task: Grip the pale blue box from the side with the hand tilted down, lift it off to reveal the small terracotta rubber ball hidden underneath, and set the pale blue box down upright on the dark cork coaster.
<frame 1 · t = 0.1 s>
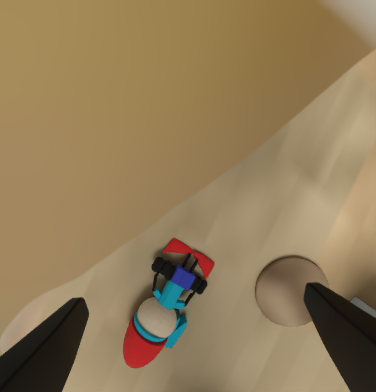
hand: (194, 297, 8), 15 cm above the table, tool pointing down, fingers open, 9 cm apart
pale blue box: (359, 321, 24), on the table
toy figure: (166, 294, 25), on the table
coaster: (290, 290, 24), on the table
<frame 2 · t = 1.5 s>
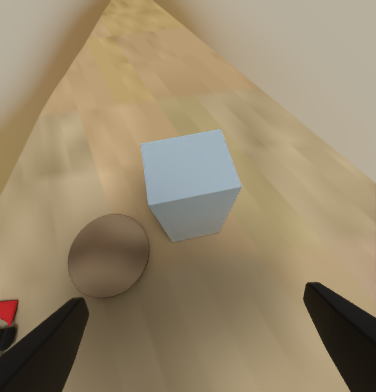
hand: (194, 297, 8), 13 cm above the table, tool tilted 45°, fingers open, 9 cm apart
pale blue box: (191, 219, 23), on the table
coaster: (110, 253, 22), on the table
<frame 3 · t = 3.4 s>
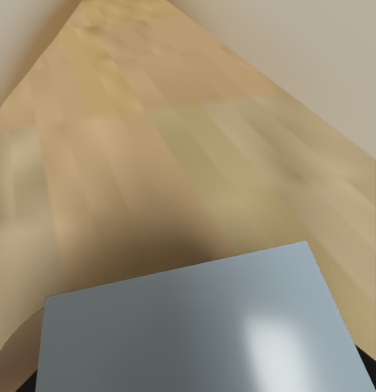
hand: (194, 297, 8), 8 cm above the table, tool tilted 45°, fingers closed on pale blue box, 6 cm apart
pale blue box: (197, 310, 14), on the table, touching gripper
coaster: (59, 377, 13), on the table
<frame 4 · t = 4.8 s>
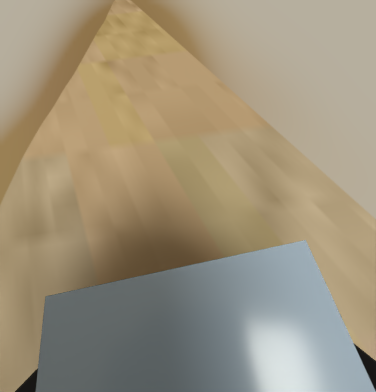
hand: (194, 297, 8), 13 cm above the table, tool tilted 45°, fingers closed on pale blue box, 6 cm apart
pale blue box: (197, 310, 14), point 6 cm above the table, touching gripper
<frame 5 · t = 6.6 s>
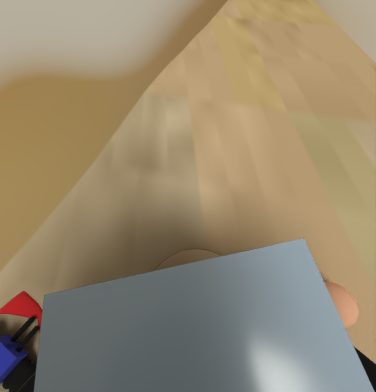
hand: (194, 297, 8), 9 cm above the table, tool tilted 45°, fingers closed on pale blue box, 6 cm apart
ball: (319, 301, 15), on the table
pale blue box: (196, 309, 14), point 2 cm above the table, touching gripper
coaster: (196, 305, 16), on the table
when the fingers open (9 cm above the table, at t = 6.9 s): pale blue box drops 1 cm, resting on coaster.
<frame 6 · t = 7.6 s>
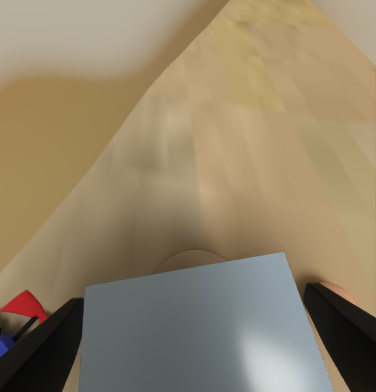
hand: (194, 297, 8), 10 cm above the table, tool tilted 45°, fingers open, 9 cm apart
ball: (319, 302, 16), on the table
pale blue box: (197, 306, 15), point 1 cm above the table, touching coaster
coaster: (196, 305, 16), on the table
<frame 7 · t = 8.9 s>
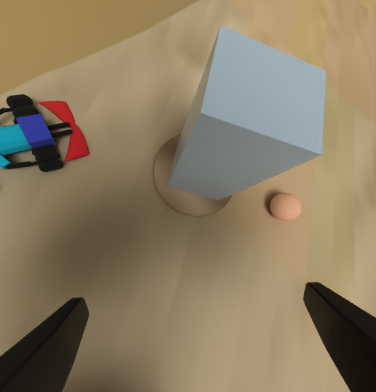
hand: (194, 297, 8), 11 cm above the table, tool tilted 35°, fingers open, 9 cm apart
ball: (275, 208, 22), on the table
pale blue box: (197, 173, 20), point 1 cm above the table, touching coaster
coaster: (195, 174, 20), on the table
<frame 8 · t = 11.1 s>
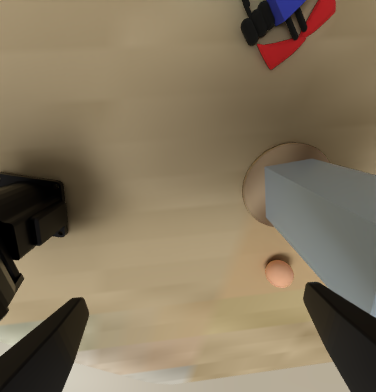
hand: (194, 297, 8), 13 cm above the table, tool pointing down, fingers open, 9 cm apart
ball: (273, 264, 23), on the table
pale blue box: (287, 189, 19), point 1 cm above the table, touching coaster
coaster: (285, 186, 20), on the table
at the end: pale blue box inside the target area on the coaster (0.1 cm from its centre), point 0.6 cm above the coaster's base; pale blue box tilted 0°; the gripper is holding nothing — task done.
